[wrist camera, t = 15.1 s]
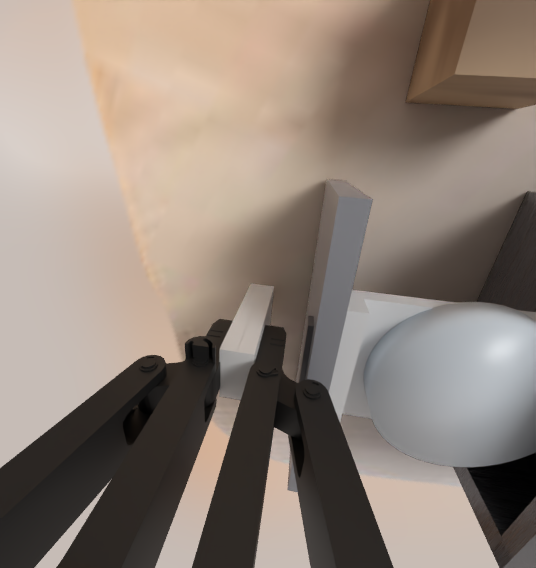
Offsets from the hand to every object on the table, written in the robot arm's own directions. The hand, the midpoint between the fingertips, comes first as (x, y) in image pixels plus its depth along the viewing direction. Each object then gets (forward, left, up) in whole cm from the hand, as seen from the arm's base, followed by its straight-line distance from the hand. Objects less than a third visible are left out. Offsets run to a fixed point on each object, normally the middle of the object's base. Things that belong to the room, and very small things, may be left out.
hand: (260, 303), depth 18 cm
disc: (0, +10, +4) cm, 11 cm away
